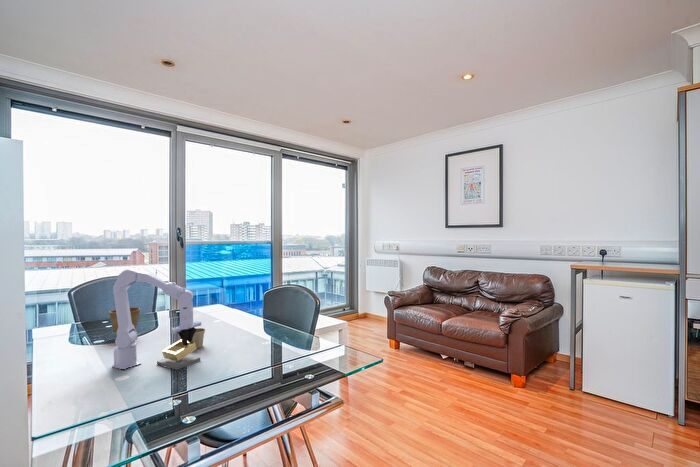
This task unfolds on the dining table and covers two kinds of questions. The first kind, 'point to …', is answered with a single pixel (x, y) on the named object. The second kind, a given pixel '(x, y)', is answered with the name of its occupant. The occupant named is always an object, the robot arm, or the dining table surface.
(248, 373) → the dining table surface
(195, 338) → the flower pot
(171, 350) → the gold square frame
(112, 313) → the plant pot
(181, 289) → the robot arm
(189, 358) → the grey piece
